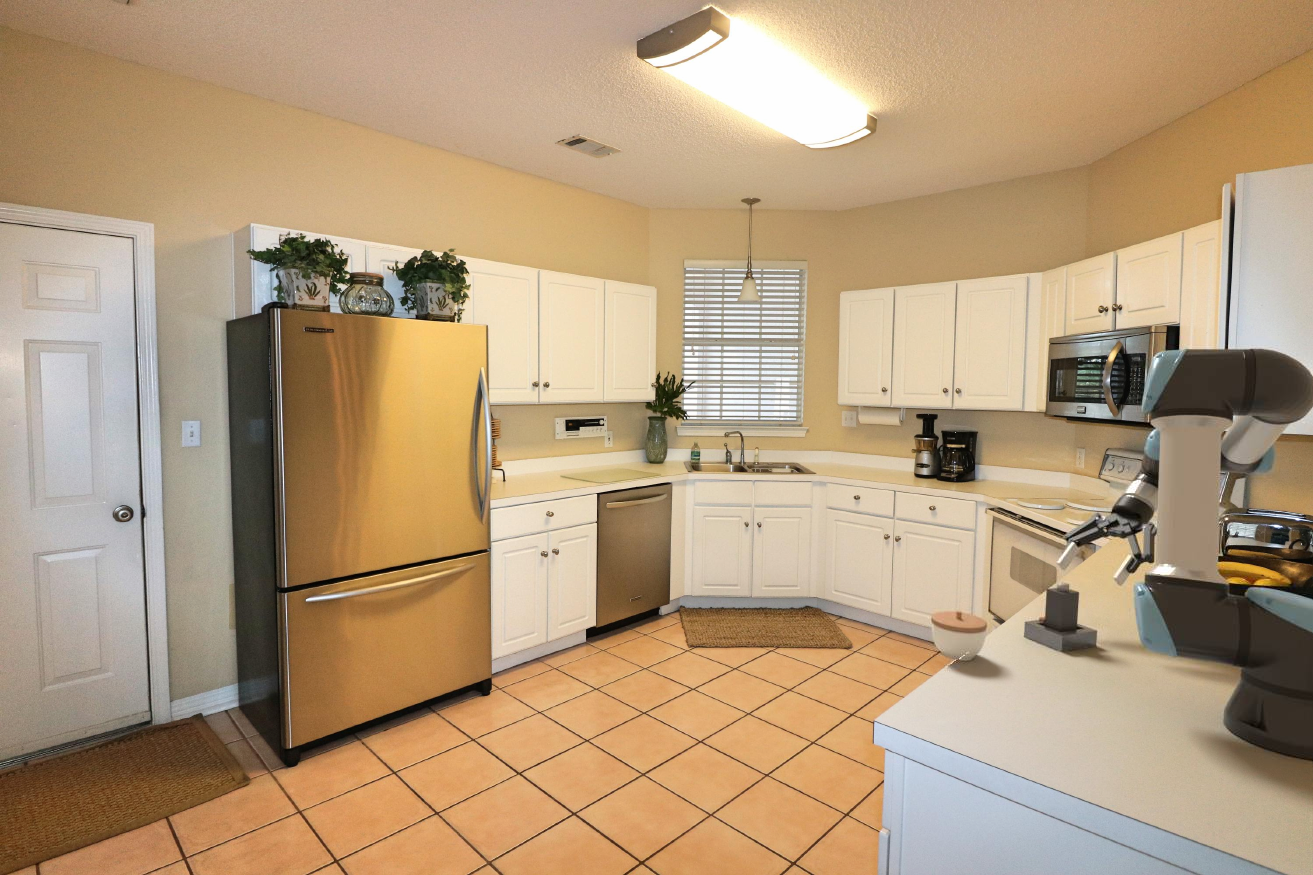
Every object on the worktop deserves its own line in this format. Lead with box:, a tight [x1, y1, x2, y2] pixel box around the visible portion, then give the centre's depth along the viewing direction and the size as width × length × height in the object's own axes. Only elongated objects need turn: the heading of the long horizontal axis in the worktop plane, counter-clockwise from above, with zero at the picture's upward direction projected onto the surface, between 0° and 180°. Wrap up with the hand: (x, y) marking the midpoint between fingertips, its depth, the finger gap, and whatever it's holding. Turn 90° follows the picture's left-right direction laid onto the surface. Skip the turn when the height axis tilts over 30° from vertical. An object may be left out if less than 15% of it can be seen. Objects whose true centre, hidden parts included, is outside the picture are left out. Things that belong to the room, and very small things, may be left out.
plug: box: [1044, 582, 1080, 632], centre depth 154 cm, size 4×5×12 cm
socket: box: [1023, 616, 1098, 652], centre depth 154 cm, size 10×10×4 cm
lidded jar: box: [930, 610, 988, 662], centre depth 145 cm, size 11×11×9 cm
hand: (1087, 573), depth 156 cm, fingers open, 13 cm apart
